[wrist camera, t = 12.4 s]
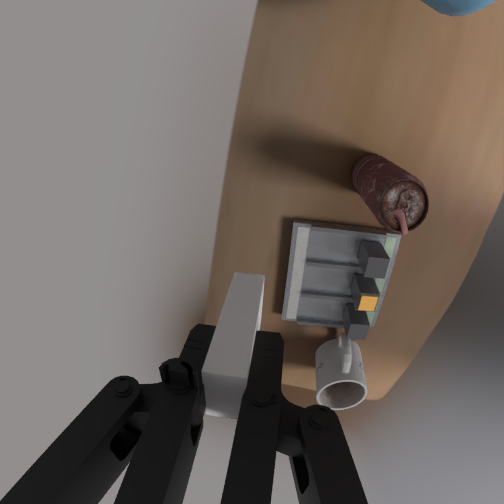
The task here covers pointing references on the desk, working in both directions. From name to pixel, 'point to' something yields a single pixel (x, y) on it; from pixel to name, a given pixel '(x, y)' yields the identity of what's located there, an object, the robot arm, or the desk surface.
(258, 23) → the desk surface
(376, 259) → the block
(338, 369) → the mug
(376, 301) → the block
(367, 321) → the breaker
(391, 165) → the can
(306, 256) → the panel
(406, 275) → the desk surface
